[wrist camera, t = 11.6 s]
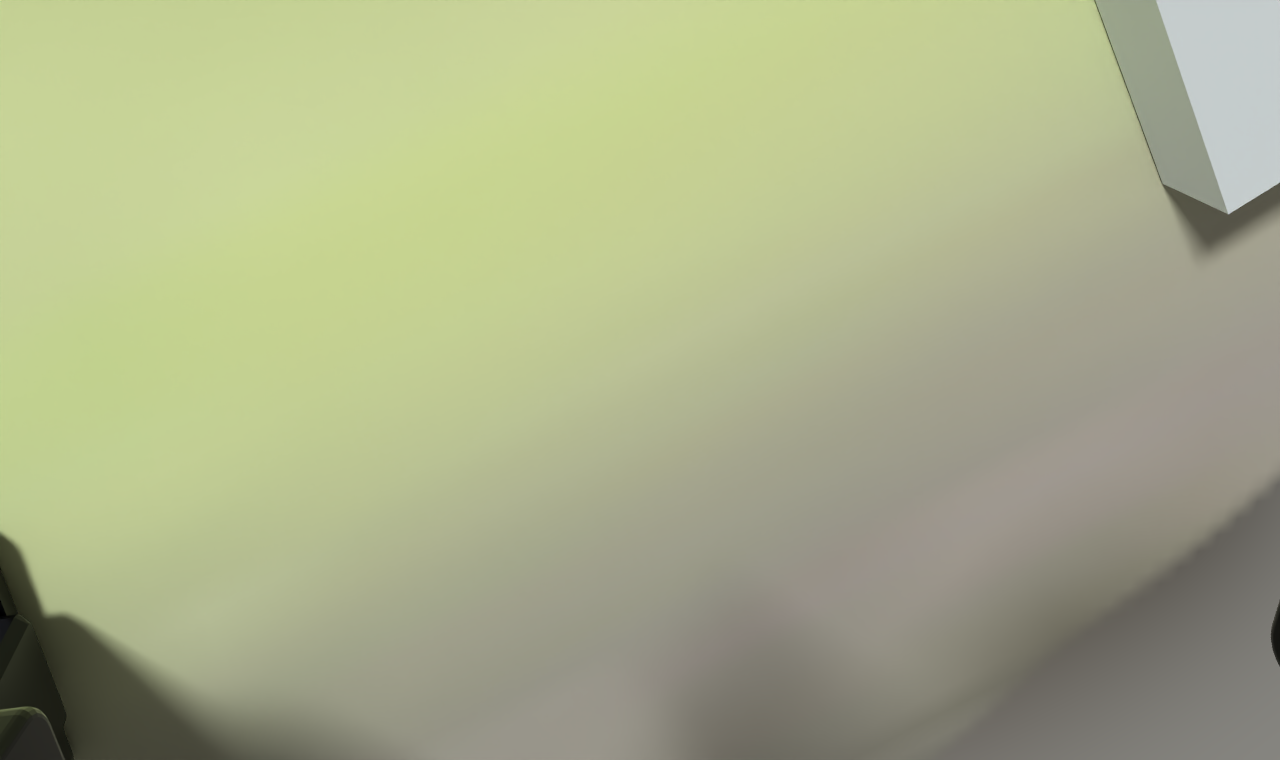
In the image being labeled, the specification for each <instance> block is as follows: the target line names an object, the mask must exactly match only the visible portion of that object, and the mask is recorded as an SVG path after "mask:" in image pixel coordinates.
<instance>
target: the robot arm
mask: <svg viewBox="0 0 1280 760" xmlns="http://www.w3.org/2000/svg"><path fill="white" fill-rule="evenodd" d="M1271 642H1272V648H1273V651H1274V654H1275V657H1276V660H1277V662H1278V664H1279V666H1280V601H1279V604H1278V608H1277V611H1276V614H1275V617H1274V621H1273V624H1272V629H1271ZM65 720H66V712H65V709H64V706H63V704H62V701H61V699H60V696H59V693H58V691H57V688H56V686H55V683H54V681H53V678H52V675H51V673H50V670H49V668H48V665H47V662H46V660H45V657H44V655H43V652H42V649H41V647H40V644H39V642H38V639H37V636H36V634H35V631H34V629H33V626H32V624H31V623H30V622H29V621H28V620H26V619H25V618H24V617H23V616H22V615H19V614H18V612H17V610H16V607H15V605H14V602H13V599H12V597H11V594H10V592H9V589H8V587H7V584H6V582H5V579H4V576H3V574H2V571H1V569H0V760H74V758H73V753H72V750H71V748H70V745H69V743H68V740H67V738H66V735H65V733H64V730H63V725H64V722H65Z"/></svg>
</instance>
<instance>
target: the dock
mask: <svg viewBox="0 0 1280 760" xmlns="http://www.w3.org/2000/svg"><path fill="white" fill-rule="evenodd" d="M1095 1H1096V4H1097V7H1098V9H1099V12H1100V15H1101V17H1102V20H1103V23H1104V26H1105V28H1106V31H1107V34H1108V37H1109V39H1110V42H1111V45H1112V47H1113V50H1114V53H1115V56H1116V58H1117V61H1118V64H1119V66H1120V69H1121V72H1122V75H1123V77H1124V80H1125V83H1126V85H1127V88H1128V91H1129V94H1130V96H1131V99H1132V102H1133V104H1134V107H1135V110H1136V113H1137V115H1138V118H1139V121H1140V123H1141V126H1142V129H1143V132H1144V134H1145V137H1146V140H1147V142H1148V145H1149V148H1150V151H1151V153H1152V156H1153V159H1154V161H1155V164H1156V167H1157V170H1158V172H1159V175H1160V178H1161V180H1162V183H1163V184H1164V185H1167V186H1169V187H1171V188H1173V189H1175V190H1177V191H1179V192H1182V193H1184V194H1186V195H1188V196H1190V197H1192V198H1194V199H1197V200H1199V201H1201V202H1203V203H1205V204H1207V205H1209V206H1212V207H1214V208H1216V209H1218V210H1220V211H1222V212H1225V213H1227V214H1230V213H1231V212H1233V211H1235V210H1236V209H1238V208H1239V207H1241V206H1243V205H1244V204H1246V203H1248V202H1249V201H1251V200H1252V199H1254V198H1256V197H1257V196H1259V195H1260V194H1262V193H1264V192H1265V191H1267V190H1269V189H1270V188H1272V187H1273V186H1275V185H1277V184H1278V183H1280V0H1095Z"/></svg>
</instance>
